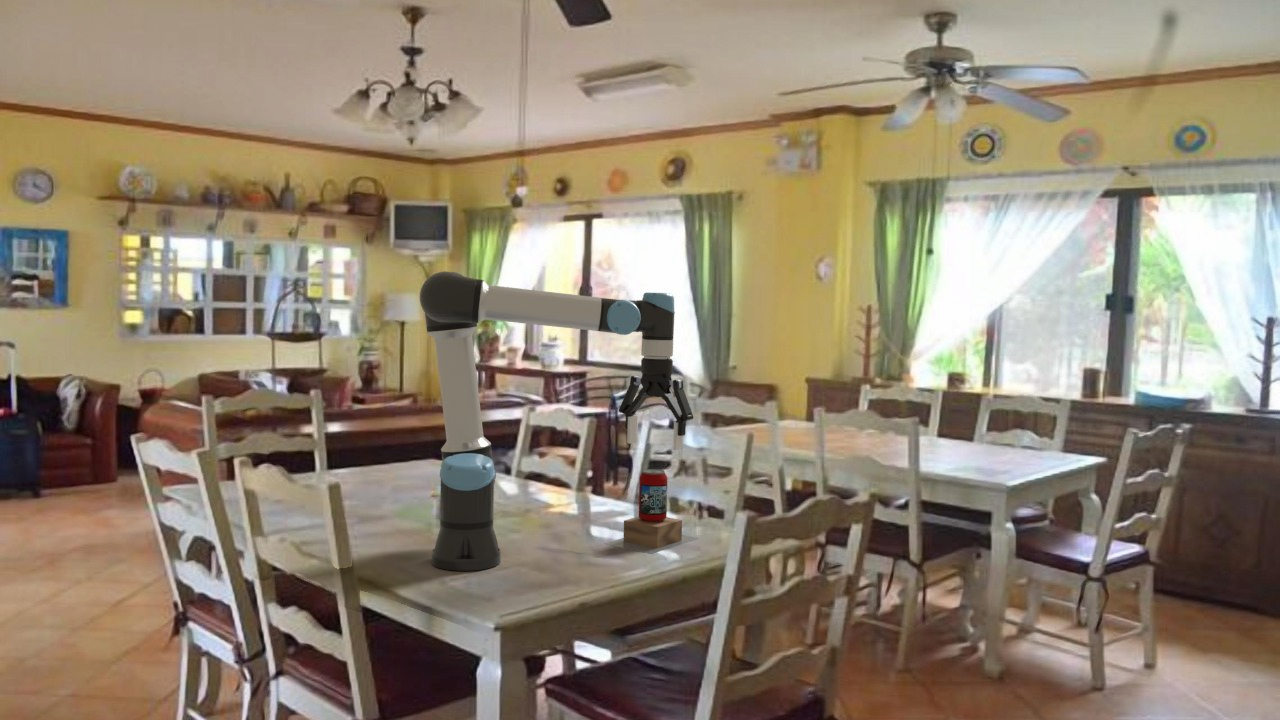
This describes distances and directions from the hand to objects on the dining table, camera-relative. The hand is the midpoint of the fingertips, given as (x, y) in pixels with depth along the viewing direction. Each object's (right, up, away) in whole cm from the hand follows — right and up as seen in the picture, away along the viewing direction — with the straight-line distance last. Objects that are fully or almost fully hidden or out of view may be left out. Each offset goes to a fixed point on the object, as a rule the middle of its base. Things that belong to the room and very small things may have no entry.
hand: (654, 446), depth 242 cm
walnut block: (0, -23, +1) cm, 23 cm away
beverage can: (0, -18, +1) cm, 18 cm away
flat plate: (0, -24, +2) cm, 24 cm away
